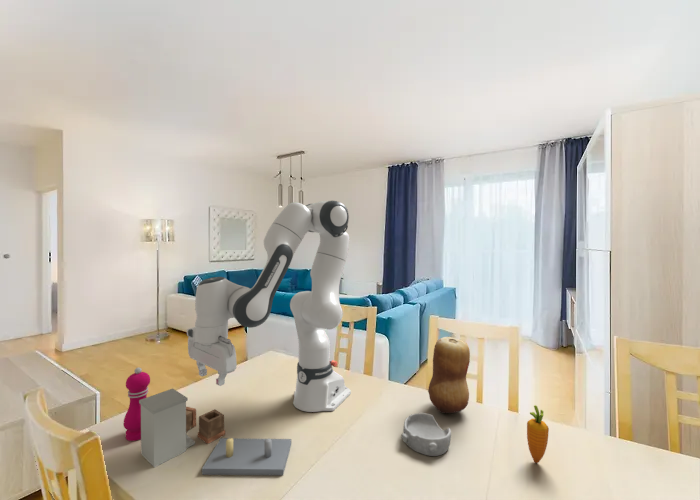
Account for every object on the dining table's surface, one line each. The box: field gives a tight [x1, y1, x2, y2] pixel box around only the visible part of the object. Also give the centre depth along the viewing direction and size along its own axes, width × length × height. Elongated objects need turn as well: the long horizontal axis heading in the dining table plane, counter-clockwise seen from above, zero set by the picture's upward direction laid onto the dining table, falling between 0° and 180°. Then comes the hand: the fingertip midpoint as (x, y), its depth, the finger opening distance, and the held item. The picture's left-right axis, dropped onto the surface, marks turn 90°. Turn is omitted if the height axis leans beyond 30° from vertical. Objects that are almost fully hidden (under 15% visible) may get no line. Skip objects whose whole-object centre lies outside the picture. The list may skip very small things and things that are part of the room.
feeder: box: [139, 388, 196, 468], centre depth 88 cm, size 11×9×15 cm
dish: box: [401, 412, 452, 457], centre depth 94 cm, size 14×14×5 cm
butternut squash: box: [427, 336, 471, 414], centre depth 111 cm, size 14×13×25 cm
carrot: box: [526, 404, 550, 464], centre depth 86 cm, size 5×5×15 cm
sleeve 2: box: [197, 409, 226, 445], centre depth 95 cm, size 6×6×6 cm
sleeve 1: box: [186, 406, 197, 433], centre depth 98 cm, size 6×6×5 cm
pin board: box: [201, 437, 292, 476], centre depth 86 cm, size 12×20×6 cm, turn 91°
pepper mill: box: [123, 367, 151, 442], centre depth 94 cm, size 7×7×20 cm
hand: (211, 379), depth 94 cm, fingers open, 8 cm apart
